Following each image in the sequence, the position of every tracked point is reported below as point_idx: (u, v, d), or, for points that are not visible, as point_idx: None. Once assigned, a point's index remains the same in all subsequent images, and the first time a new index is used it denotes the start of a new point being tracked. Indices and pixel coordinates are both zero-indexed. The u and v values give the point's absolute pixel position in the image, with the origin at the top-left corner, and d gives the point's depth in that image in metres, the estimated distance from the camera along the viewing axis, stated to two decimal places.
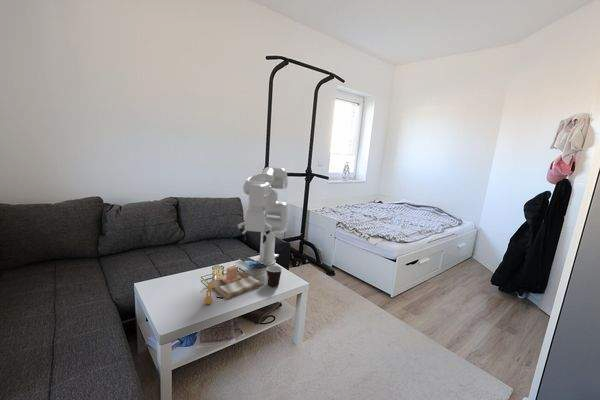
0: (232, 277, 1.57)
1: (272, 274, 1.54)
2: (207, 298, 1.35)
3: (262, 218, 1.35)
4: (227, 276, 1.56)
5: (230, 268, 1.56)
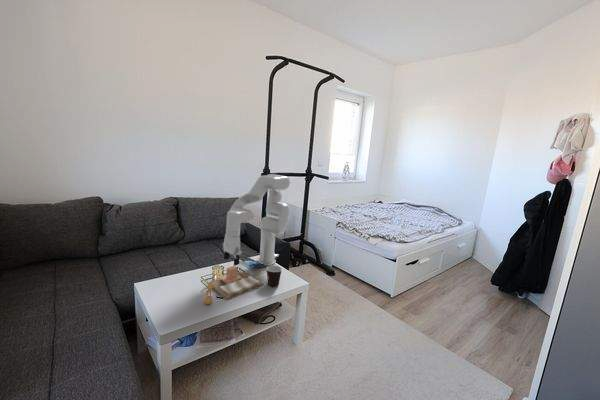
0: (232, 277, 1.57)
1: (272, 274, 1.54)
2: (207, 298, 1.35)
3: None
4: (227, 276, 1.56)
5: (230, 268, 1.56)
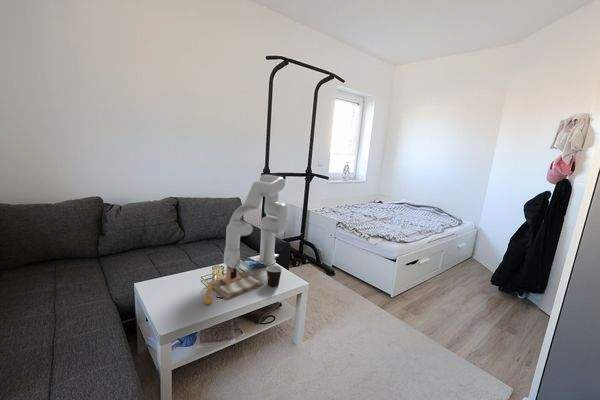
0: None
1: (272, 274, 1.54)
2: (207, 298, 1.35)
3: None
4: (227, 276, 1.56)
5: (230, 268, 1.56)
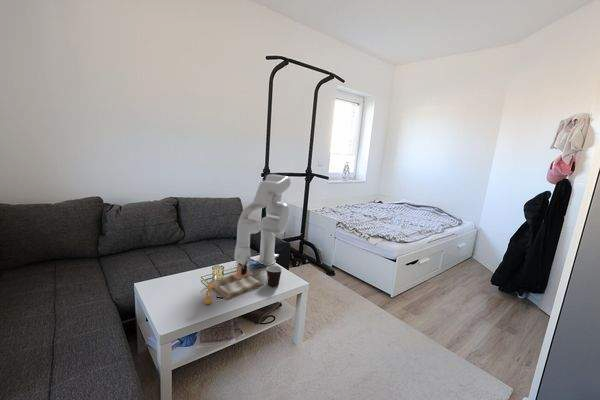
0: None
1: (272, 274, 1.54)
2: (207, 298, 1.35)
3: None
4: (238, 272, 1.62)
5: (241, 265, 1.61)
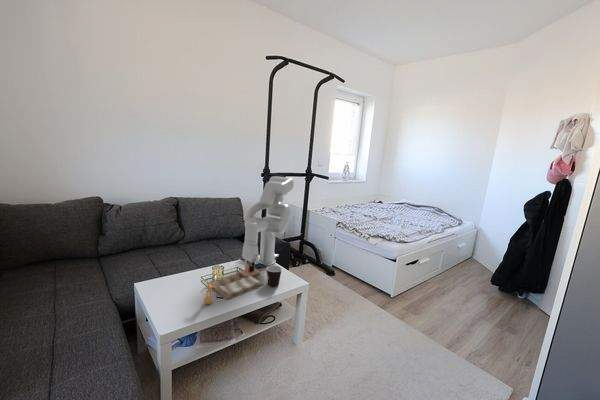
0: None
1: (272, 274, 1.54)
2: (207, 298, 1.35)
3: None
4: (246, 270, 1.66)
5: (248, 262, 1.65)
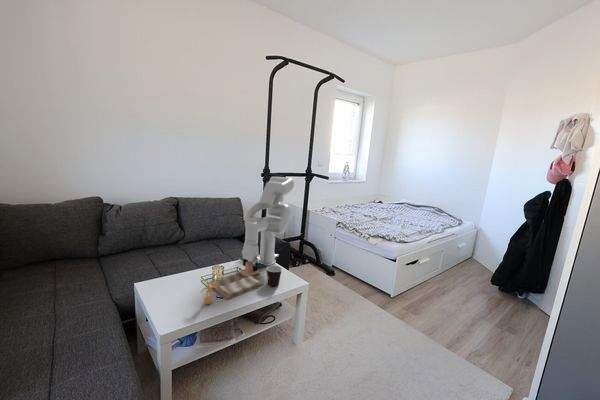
0: (251, 271, 1.66)
1: (272, 274, 1.54)
2: (207, 298, 1.35)
3: None
4: (246, 270, 1.66)
5: (249, 262, 1.66)
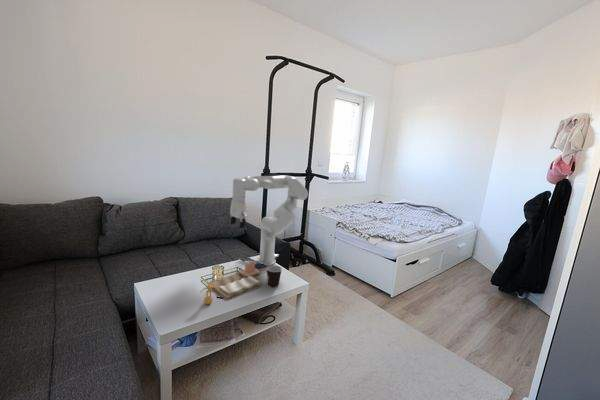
0: (251, 271, 1.66)
1: (272, 274, 1.54)
2: (207, 298, 1.35)
3: None
4: (246, 270, 1.66)
5: (249, 262, 1.66)
